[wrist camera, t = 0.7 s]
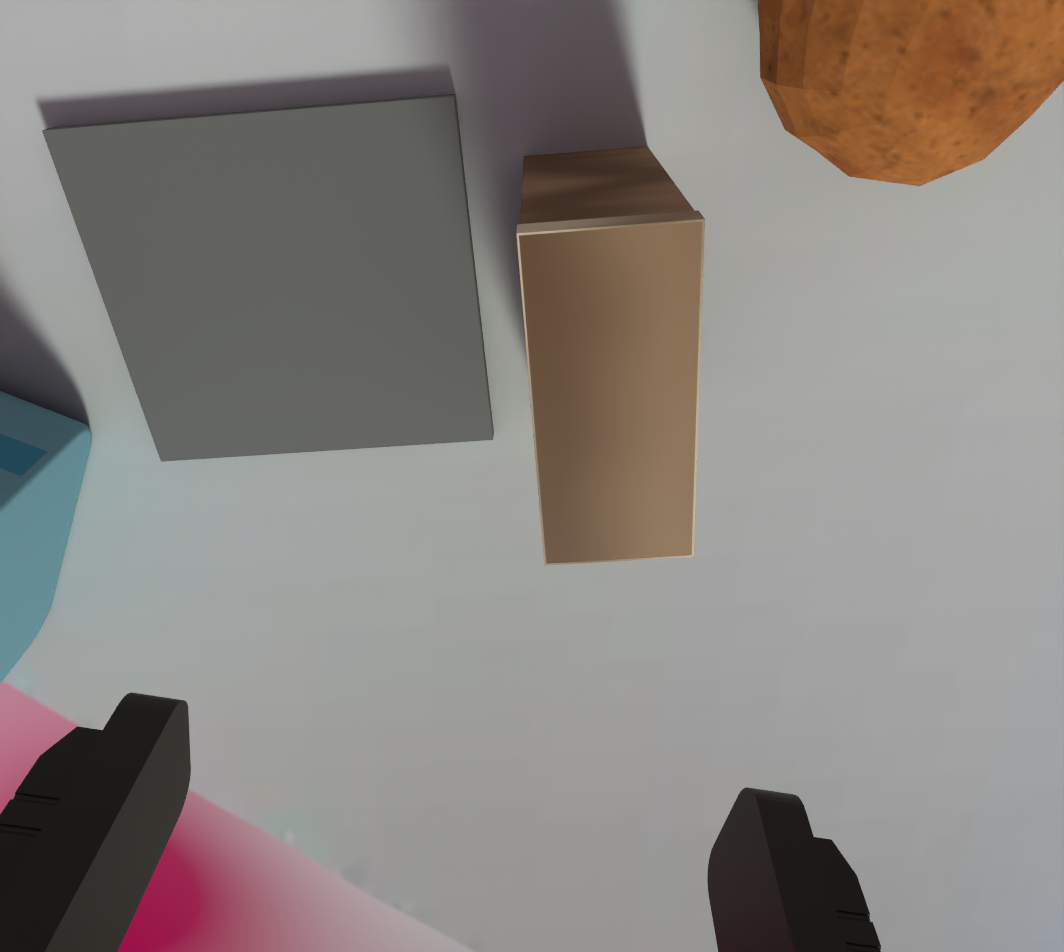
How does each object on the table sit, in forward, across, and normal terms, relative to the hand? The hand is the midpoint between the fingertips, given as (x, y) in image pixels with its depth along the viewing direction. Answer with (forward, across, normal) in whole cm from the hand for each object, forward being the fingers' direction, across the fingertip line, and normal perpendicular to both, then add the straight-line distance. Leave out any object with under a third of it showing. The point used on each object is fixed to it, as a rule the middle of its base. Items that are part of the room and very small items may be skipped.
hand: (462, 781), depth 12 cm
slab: (+20, -2, -1) cm, 20 cm away
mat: (+20, +8, +1) cm, 21 cm away
